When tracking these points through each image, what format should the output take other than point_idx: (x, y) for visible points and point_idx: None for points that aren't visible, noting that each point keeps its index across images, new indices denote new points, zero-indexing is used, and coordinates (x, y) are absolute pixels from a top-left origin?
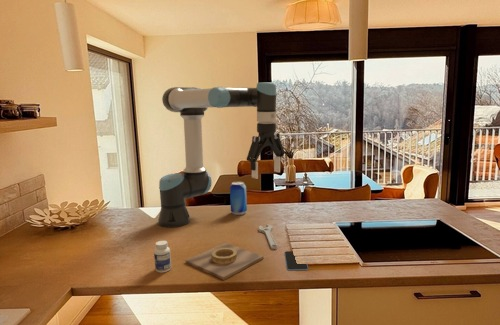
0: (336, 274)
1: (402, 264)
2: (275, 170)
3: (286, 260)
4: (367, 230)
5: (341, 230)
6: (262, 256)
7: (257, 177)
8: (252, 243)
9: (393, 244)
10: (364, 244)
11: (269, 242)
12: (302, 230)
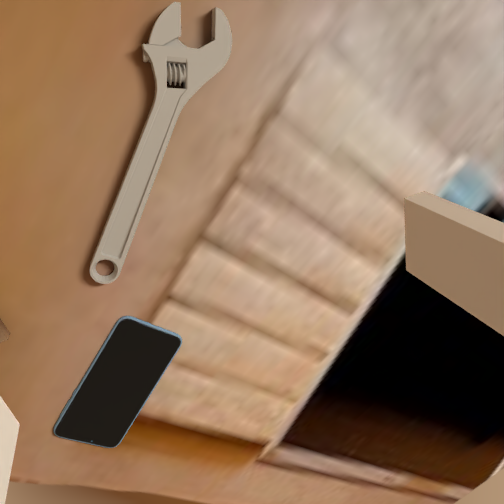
0: (170, 481)
1: (335, 474)
2: (416, 226)
3: (84, 383)
4: None
5: None
6: (2, 341)
7: (7, 438)
8: (33, 172)
9: (416, 386)
10: (368, 361)
11: (105, 227)
12: (316, 165)
